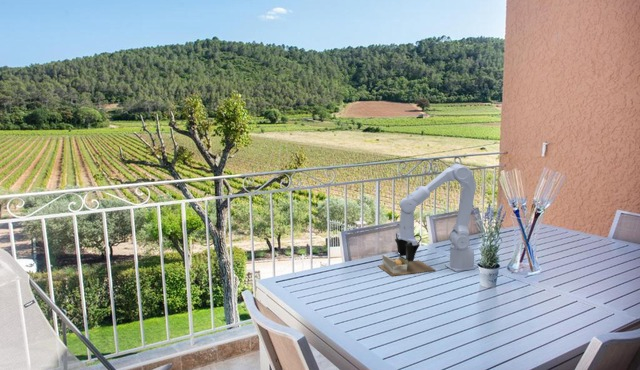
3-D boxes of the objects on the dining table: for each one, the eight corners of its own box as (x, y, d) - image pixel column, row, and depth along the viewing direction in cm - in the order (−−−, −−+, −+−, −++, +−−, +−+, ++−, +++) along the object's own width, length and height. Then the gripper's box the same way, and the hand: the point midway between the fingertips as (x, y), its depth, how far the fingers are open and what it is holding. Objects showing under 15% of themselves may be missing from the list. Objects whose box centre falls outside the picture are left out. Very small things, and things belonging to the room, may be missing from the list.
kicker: (408, 262, 207) (409, 245, 206) (415, 267, 202) (416, 249, 201) (398, 264, 206) (398, 246, 205) (405, 268, 200) (405, 250, 199)
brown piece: (418, 261, 213) (419, 249, 213) (435, 270, 200) (435, 258, 199) (377, 266, 207) (377, 254, 207) (392, 276, 194) (392, 263, 193)
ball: (393, 256, 204) (389, 265, 203) (398, 259, 200) (393, 268, 200) (401, 260, 205) (397, 268, 205) (405, 262, 201) (401, 271, 201)
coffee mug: (394, 255, 223) (394, 234, 221) (396, 250, 231) (397, 230, 229) (419, 257, 219) (420, 236, 218) (421, 252, 227) (421, 231, 226)
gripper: (390, 223, 207) (390, 254, 209) (406, 231, 193) (406, 263, 195) (405, 222, 209) (405, 252, 211) (422, 229, 195) (421, 261, 197)
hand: (406, 257), depth 203 cm, fingers open, 7 cm apart
